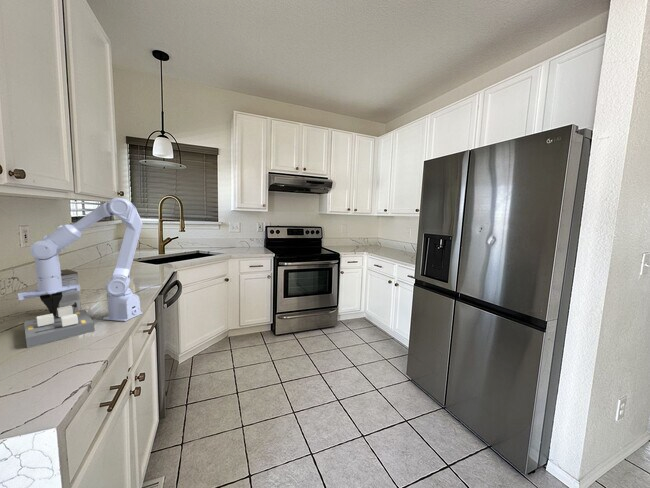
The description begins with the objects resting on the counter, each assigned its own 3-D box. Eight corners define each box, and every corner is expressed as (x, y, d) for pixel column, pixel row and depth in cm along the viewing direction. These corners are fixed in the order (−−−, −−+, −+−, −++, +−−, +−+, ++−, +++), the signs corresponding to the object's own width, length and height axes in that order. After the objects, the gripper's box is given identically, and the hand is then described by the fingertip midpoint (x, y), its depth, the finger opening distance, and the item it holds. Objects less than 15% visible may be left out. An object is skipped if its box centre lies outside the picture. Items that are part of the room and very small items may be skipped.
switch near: (76, 320, 88) (75, 313, 88) (78, 323, 86) (77, 316, 86) (61, 323, 85) (60, 316, 85) (62, 326, 83) (61, 319, 83)
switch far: (71, 311, 95) (71, 305, 95) (73, 314, 93) (72, 307, 93) (57, 314, 93) (56, 308, 92) (58, 317, 90) (58, 310, 90)
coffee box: (50, 312, 103) (45, 271, 101) (71, 307, 108) (67, 268, 106) (60, 317, 99) (55, 274, 97) (82, 311, 104) (78, 271, 102)
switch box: (85, 316, 99) (84, 309, 99) (94, 330, 88) (93, 322, 88) (25, 330, 88) (24, 321, 88) (27, 348, 77) (25, 337, 77)
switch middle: (53, 320, 88) (52, 313, 88) (54, 323, 86) (53, 316, 86) (37, 323, 85) (36, 316, 85) (37, 326, 83) (37, 319, 83)
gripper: (16, 282, 81) (21, 325, 83) (80, 274, 92) (84, 312, 93) (15, 278, 85) (21, 319, 87) (77, 271, 96) (80, 307, 98)
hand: (53, 315), depth 91 cm, fingers closed
